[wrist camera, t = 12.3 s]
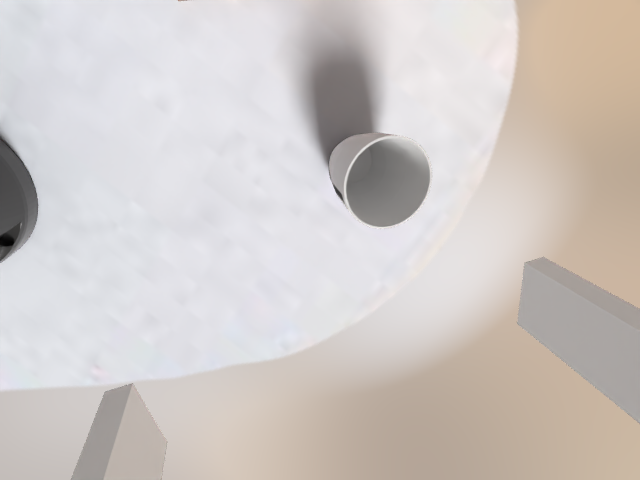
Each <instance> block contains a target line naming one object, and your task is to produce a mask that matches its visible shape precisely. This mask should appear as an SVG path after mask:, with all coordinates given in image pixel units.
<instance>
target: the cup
mask: <svg viewBox="0 0 640 480" xmlns="http://www.w3.org/2000/svg"><path fill="white" fill-rule="evenodd" d="M329 175H330V179H331V181H332V184H333V186H334V189H335V191H336V193H337V195H338V197H339V198H340V200H341V201H342V202H343V204H344V205H345V206H346V208H347V209H348V210H349V212H350V213H351V214H352V215H353V217H354V218H355V219H356V220H357V221H359V222H360V223H362V224H363V225H365V226H368V227H371V228H375V229H387V228H392V227H396V226H398V225H400V224H402V223H404V222H406V221H408V220H409V219H410V218H412V217H413V216H414V215H415V214H416V213H417V212H418V211H419V209H420V208H421V207H422V205H423V204H424V202H425V201H426V199H427V197H428V194H429V191H430V188H431V183H432V167H431V163H430V160H429V157H428V155H427V153H426V152H425V150H424V149H423V148H422V147H421V146H420V145H419V144H418V143H417V142H415V141H414V140H412V139H410V138H407V137H404V136H398V135H391V134H384V133H365V134H358V135H353V136H350V137H348V138H346V139H345V140H343V141H342V142H341V143H339V144H338V145H337V146H336V147H335V148H334V150H333V151H332V153H331V156H330V161H329Z"/></svg>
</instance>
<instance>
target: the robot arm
mask: <svg viewBox="0 0 640 480" xmlns="http://www.w3.org/2000/svg"><path fill="white" fill-rule="evenodd" d="M37 215H38V201H37V195H36V191H35V187H34V185H33V182H32V180H31V178H30V175H29V174H28V172H27V170H26V168H25V167H24V165H23V164H22V162H21V161H20V160H19V158H18V157H17V156H16V155H15V153H14V152H13V151H12V150H11V149H10V148H9V147H8V146H7V145H6V144H5V143H4V142H3V141H2V140H1V139H0V263H1V262H3V261H4V260H6V259H7V258H8V257H9V256H11V255H12V254H13V253H15V252H16V251H17V250H18V249H20V248H21V247H22V246H23V245H24V243H25V242H26V241H27V240H28V238H29V237H30V235H31V234H32V232H33V230H34V227H35V224H36V221H37ZM517 324H518V325H519V326H521V327H522V328H523V329H524V330H526V331H527V332H528V333H529V334H530V335H532V336H533V337H534V338H535V339H536V340H538V341H539V342H540V343H541V344H543V345H544V346H545V347H547V348H548V349H549V350H550V351H551V352H552V353H554V354H555V355H556V356H557V357H559V358H560V359H561V360H562V361H563V362H565V363H566V364H567V365H568V366H570V367H571V368H572V369H573V370H574V371H576V372H577V373H578V374H579V375H581V376H582V377H583V378H584V379H586V380H587V381H588V382H589V383H590V384H592V385H593V386H595V388H597V389H598V390H599V391H600V392H602V393H603V394H604V395H605V396H606V397H608V398H609V399H610V400H611V401H613V402H614V403H615V404H616V405H618V406H619V407H620V408H621V409H622V410H624V411H625V412H626V413H627V414H628V415H630V416H631V417H632V418H634V419H635V420H636V421H637V422H638V423H640V309H639V308H637V307H635V306H634V305H632V304H630V303H628V302H626V301H624V300H622V299H620V298H619V297H617V296H615V295H613V294H611V293H609V292H607V291H606V290H604V289H602V288H600V287H598V286H596V285H594V284H593V283H591V282H589V281H587V280H585V279H583V278H581V277H580V276H578V275H576V274H574V273H572V272H570V271H568V270H567V269H565V268H563V267H561V266H559V265H557V264H556V263H554V262H552V261H550V260H548V259H546V258H545V257H542V258H538V259H535V260H532V261H529V262H526V263H525V264H524V272H523V280H522V289H521V297H520V305H519V313H518V322H517ZM166 447H167V441H166V439H165V437H164V436H163V434H162V432H161V431H160V429H159V427H158V426H157V424H156V422H155V420H154V419H153V417H152V415H151V413H150V412H149V410H148V408H147V407H146V405H145V403H144V402H143V400H142V398H141V396H140V395H139V393H138V392H137V390H136V388H135V386H134V385H133V383H132V384H129V385H125V386H122V387H119V388H116V389H112V390H109V391H106V392H105V393H104V395H103V398H102V401H101V403H100V406H99V408H98V411H97V413H96V416H95V419H94V421H93V424H92V426H91V429H90V432H89V434H88V437H87V440H86V442H85V444H84V447H83V450H82V452H81V455H80V457H79V460H78V463H77V465H76V468H75V470H74V473H73V476H72V478H71V480H161V479H162V472H163V466H164V460H165V454H166Z"/></svg>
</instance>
